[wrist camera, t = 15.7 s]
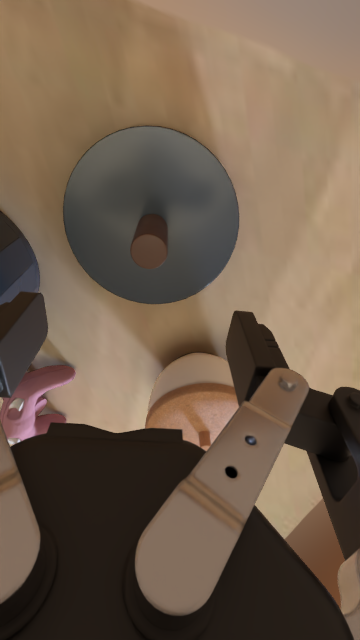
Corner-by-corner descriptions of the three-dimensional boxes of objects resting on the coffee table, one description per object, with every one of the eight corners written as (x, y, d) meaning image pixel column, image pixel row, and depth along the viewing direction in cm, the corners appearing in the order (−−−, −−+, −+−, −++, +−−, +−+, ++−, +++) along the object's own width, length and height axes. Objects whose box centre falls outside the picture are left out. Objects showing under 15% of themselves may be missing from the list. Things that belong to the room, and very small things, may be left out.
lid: (74, 291, 27) (52, 330, 22) (58, 112, 20) (19, 108, 15) (219, 303, 28) (230, 343, 23) (254, 139, 21) (282, 143, 16)
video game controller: (48, 347, 33) (-12, 382, 27) (80, 368, 32) (26, 409, 26) (41, 405, 38) (-11, 445, 32) (69, 424, 37) (21, 469, 31)
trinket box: (263, 356, 32) (294, 430, 24) (213, 414, 37) (225, 491, 30) (176, 320, 29) (178, 390, 22) (134, 389, 34) (124, 466, 27)
